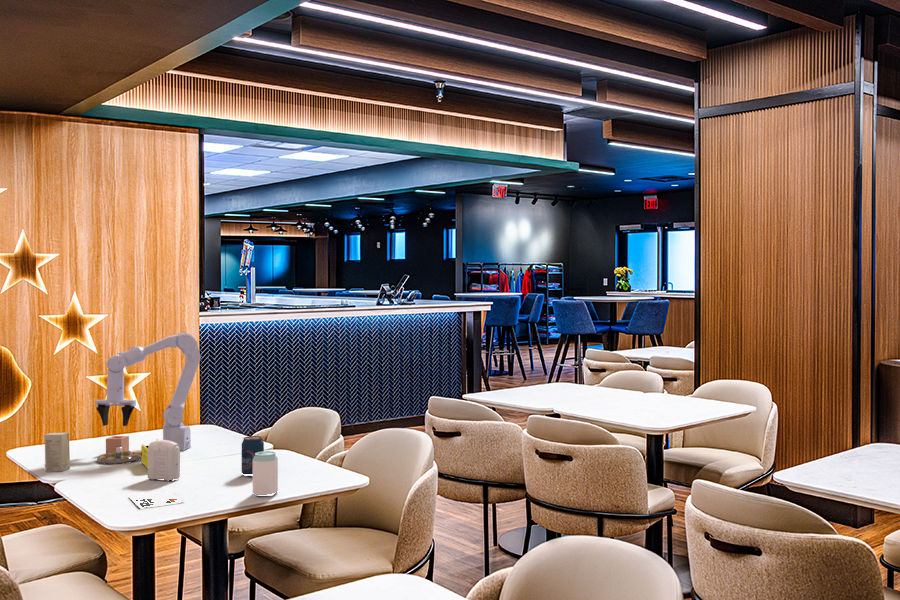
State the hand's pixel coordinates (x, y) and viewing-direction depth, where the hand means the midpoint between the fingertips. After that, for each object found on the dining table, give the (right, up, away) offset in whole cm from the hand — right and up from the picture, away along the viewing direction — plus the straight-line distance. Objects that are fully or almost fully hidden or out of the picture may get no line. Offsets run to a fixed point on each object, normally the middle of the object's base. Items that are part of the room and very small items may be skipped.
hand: (115, 425), depth 274 cm
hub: (+6, -10, -11) cm, 16 cm away
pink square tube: (+1, -10, +1) cm, 10 cm away
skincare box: (-7, -11, -26) cm, 29 cm away
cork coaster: (+10, -10, +1) cm, 14 cm away
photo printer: (+33, -11, -40) cm, 53 cm away
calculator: (+40, -11, -64) cm, 76 cm away
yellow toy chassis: (+22, -11, -21) cm, 33 cm away
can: (+69, -10, -58) cm, 91 cm away
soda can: (+59, -10, -34) cm, 69 cm away
